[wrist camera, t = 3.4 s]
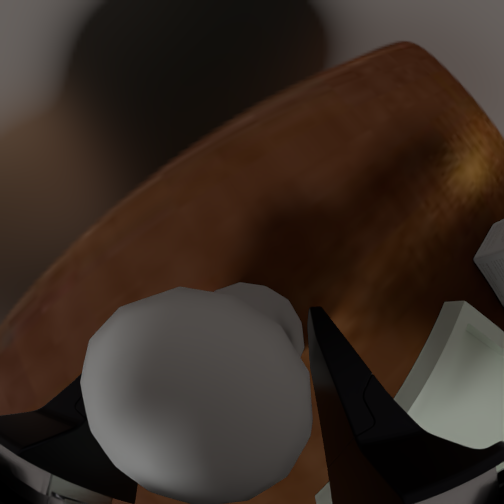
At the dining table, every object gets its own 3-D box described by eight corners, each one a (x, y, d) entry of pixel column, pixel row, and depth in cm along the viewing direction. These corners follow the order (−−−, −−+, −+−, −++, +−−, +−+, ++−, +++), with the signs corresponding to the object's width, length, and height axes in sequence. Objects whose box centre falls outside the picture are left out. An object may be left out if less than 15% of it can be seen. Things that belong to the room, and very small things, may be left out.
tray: (445, 520, 11) (455, 531, 9) (314, 495, 14) (318, 515, 11) (538, 375, 13) (554, 378, 11) (444, 301, 15) (464, 300, 13)
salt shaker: (281, 272, 17) (305, 174, 4) (312, 364, 16) (400, 502, 3) (188, 303, 17) (8, 291, 4) (218, 392, 16) (111, 538, 3)
